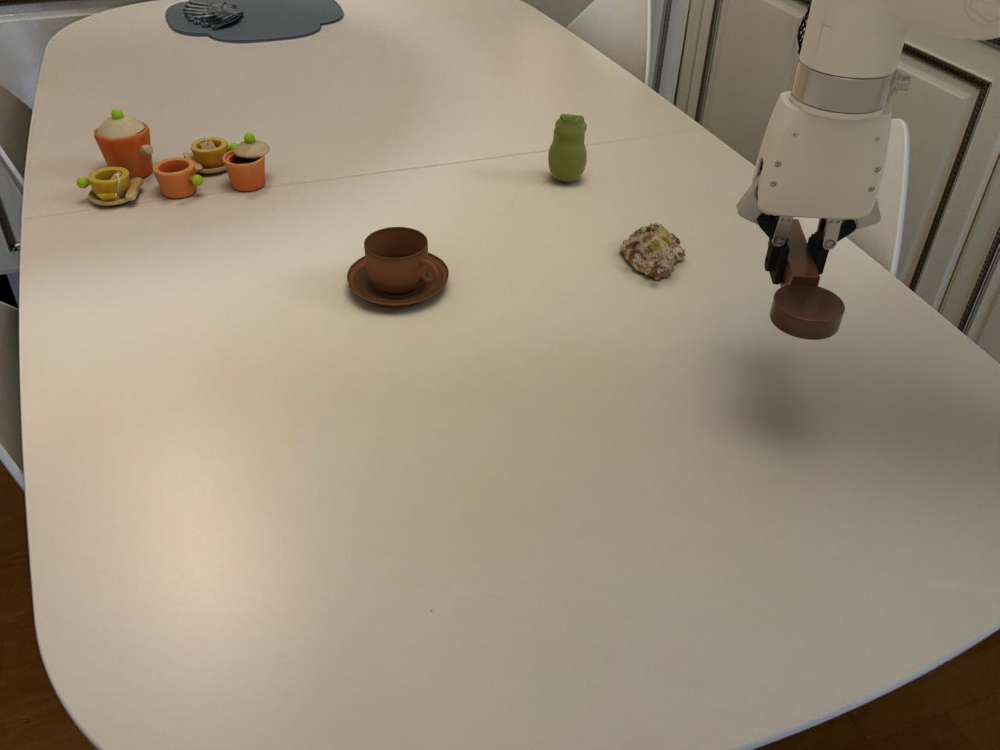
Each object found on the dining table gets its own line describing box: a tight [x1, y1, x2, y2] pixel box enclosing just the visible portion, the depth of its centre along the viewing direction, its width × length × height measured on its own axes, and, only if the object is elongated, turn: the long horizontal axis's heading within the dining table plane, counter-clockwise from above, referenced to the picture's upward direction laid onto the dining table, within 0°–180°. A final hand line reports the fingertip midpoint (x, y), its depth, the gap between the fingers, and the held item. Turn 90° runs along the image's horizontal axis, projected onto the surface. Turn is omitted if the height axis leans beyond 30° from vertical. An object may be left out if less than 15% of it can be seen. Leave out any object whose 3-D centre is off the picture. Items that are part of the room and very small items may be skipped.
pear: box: [547, 113, 588, 183], centre depth 123 cm, size 6×5×10 cm
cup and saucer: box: [346, 226, 450, 307], centre depth 101 cm, size 12×12×6 cm
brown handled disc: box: [767, 218, 846, 341], centre depth 79 cm, size 16×6×3 cm, turn 175°
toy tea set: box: [76, 108, 271, 207], centre depth 121 cm, size 26×16×10 cm, turn 103°
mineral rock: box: [619, 222, 686, 281], centre depth 108 cm, size 11×4×8 cm
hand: (790, 276), depth 81 cm, fingers closed on brown handled disc, 2 cm apart
